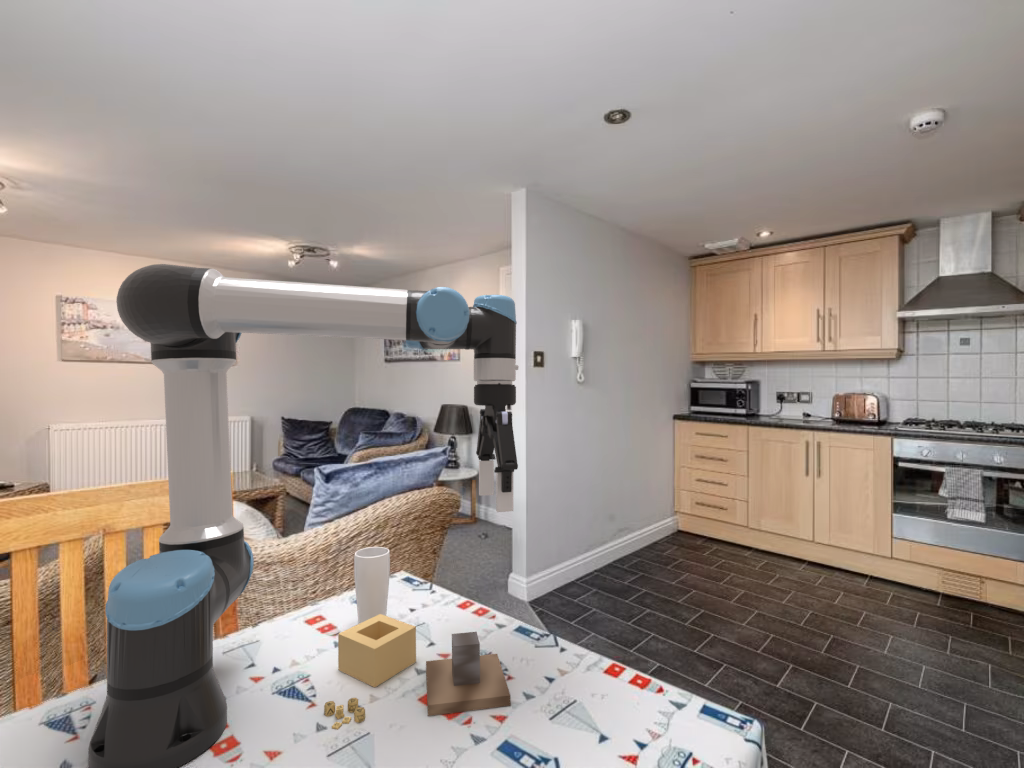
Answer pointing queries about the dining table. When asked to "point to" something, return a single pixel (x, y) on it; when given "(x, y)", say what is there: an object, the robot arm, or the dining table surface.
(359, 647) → the collar
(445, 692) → the post base
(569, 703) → the dining table surface
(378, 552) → the drinking glass
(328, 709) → the dice set
